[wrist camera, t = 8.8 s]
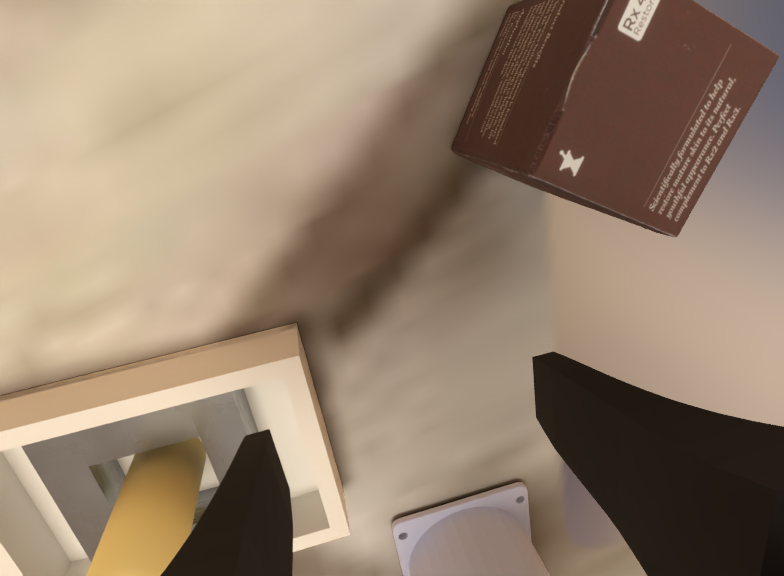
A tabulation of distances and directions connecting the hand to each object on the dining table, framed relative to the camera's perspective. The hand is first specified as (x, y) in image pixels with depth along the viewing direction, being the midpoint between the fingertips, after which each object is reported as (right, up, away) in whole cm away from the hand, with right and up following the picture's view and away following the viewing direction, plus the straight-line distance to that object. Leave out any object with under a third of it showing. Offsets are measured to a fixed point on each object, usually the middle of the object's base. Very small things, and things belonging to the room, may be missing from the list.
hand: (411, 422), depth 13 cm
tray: (-11, -4, +10) cm, 15 cm away
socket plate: (-11, -4, +10) cm, 15 cm away
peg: (-11, -4, +10) cm, 15 cm away
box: (+6, +11, +8) cm, 15 cm away
